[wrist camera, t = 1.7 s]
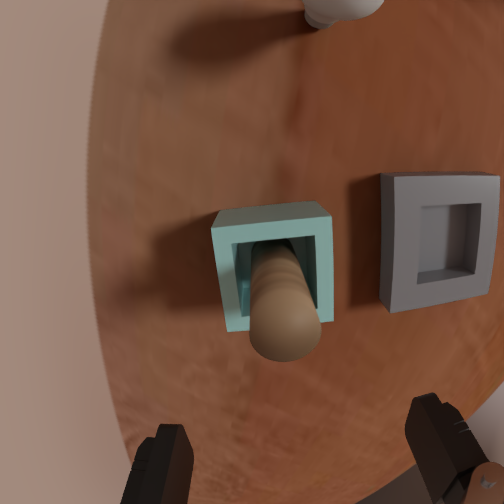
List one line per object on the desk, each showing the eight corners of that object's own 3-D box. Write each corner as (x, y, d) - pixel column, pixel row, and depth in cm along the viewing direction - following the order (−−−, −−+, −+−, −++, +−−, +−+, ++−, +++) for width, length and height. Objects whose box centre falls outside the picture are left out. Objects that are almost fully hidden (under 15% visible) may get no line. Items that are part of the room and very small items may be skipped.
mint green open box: (219, 210, 27) (210, 228, 21) (315, 200, 26) (331, 216, 21) (232, 296, 29) (227, 331, 24) (319, 287, 29) (333, 320, 23)
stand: (380, 173, 26) (394, 176, 23) (481, 171, 25) (500, 175, 22) (378, 298, 29) (389, 313, 27) (473, 282, 29) (487, 293, 26)
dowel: (248, 235, 26) (245, 305, 15) (292, 231, 26) (320, 297, 15) (253, 276, 28) (253, 364, 16) (295, 272, 27) (321, 357, 16)
